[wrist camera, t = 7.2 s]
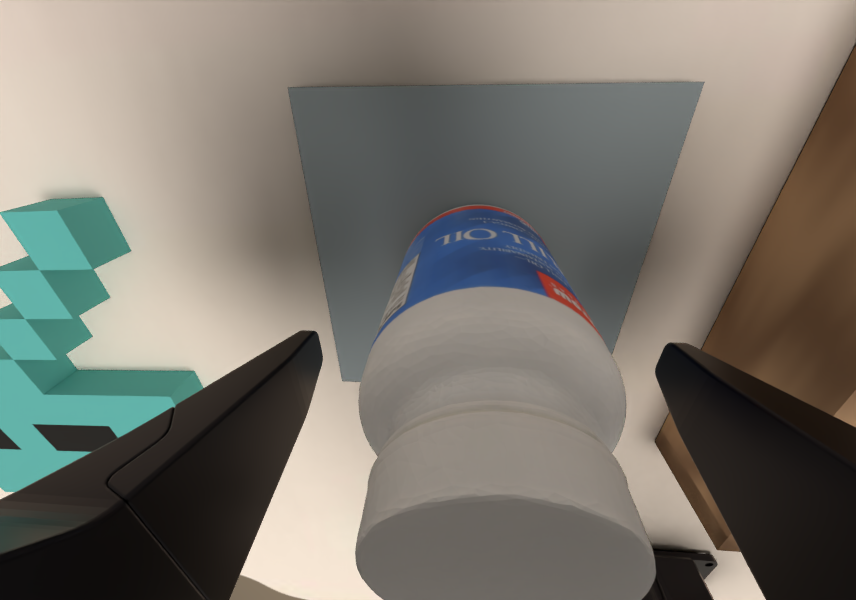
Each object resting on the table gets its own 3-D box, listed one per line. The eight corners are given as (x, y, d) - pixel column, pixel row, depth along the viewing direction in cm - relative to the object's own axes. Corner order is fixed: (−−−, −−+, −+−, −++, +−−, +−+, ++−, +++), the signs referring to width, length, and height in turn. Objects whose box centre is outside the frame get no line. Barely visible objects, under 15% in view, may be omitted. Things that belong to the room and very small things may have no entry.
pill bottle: (575, 231, 12) (862, 542, 4) (507, 345, 15) (580, 674, 6) (428, 176, 11) (354, 395, 3) (385, 305, 14) (284, 612, 6)
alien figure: (-298, 210, 15) (6, 476, 25) (-405, 226, 13) (-31, 507, 24) (112, 194, 14) (262, 486, 24) (57, 210, 12) (245, 521, 22)
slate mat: (594, 382, 16) (599, 392, 16) (345, 372, 17) (342, 381, 16) (691, 82, 10) (704, 81, 10) (295, 87, 11) (287, 87, 10)
